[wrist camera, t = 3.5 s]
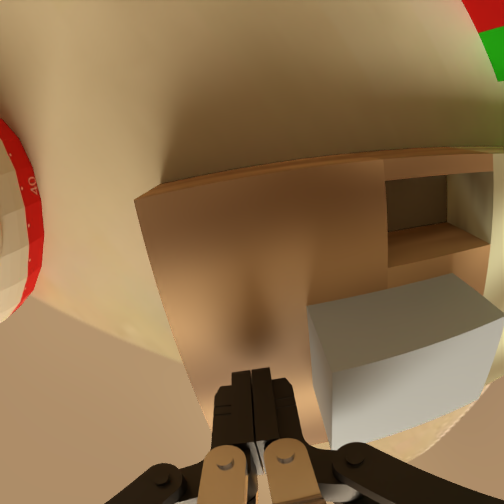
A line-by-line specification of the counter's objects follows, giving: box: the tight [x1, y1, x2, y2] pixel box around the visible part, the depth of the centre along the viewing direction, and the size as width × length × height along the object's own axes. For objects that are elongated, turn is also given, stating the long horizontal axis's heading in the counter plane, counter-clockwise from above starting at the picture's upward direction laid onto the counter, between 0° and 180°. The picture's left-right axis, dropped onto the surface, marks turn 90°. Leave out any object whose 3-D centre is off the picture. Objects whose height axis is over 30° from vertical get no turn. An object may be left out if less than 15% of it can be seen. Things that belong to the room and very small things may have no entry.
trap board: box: [134, 146, 504, 445], centre depth 14 cm, size 15×23×6 cm, turn 99°
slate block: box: [306, 273, 504, 450], centre depth 11 cm, size 4×7×4 cm, turn 99°
